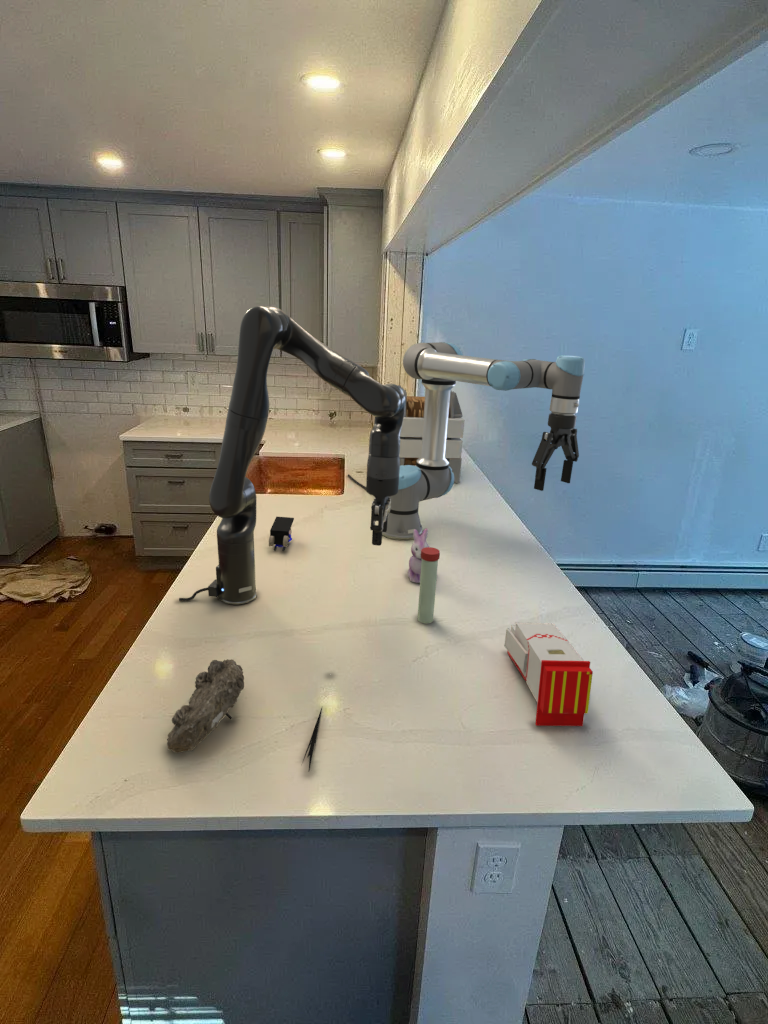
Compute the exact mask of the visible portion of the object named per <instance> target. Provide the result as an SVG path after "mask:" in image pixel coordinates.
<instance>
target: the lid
mask: <svg viewBox="0 0 768 1024" xmlns="http://www.w3.org/2000/svg"><path fill="white" fill-rule="evenodd" d="M440 555H441V552H440V550H439V549H438V548H436V547H433V546H431V547H430V546H429V547H426V548H423V549H422V550H421V558H422V559H423V560H425V561H437V560H438V561H439V560H440Z"/></svg>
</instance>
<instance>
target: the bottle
mask: <svg viewBox="0 0 768 1024" xmlns="http://www.w3.org/2000/svg"><path fill="white" fill-rule="evenodd" d="M438 564H439V559H438V560H437V561H425V560H423V559H422V562H421V576H420V583H419V592H418V606H417V618H416V619H417V621H418V622H419V623H421V624H431V623H432V622H434V613H435V602H436V590H437V589H436V588H437V577H438V568H439V567H438V566H439V565H438Z"/></svg>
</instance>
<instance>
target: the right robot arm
mask: <svg viewBox="0 0 768 1024" xmlns="http://www.w3.org/2000/svg"><path fill="white" fill-rule="evenodd" d="M585 365H586V360H585V358H584V357H582V356H578V355H566V354H565V355H564V354H563V355H558V356H557V357H556V360H555V361H549V360H541V359H536V358H524V359H521V360H506V359H505V360H504V359H503V360H502V359H496V358H487V357H479V356H471V355H464V354H463V352H462V350H461V349H460V347H459V346H457V345H456V344H455V343H451V342H445V341H443V342H442V341H441V342H440V341H439V342H438V341H437V342H417V343H414V344H412V345H411V346H409V347H408V348H407V350H406V351H405V353H404V355H403V358H402V366H403V369H404V372H405V373H406V374H407V375H408V376H409V377H411V378H412V379H415V380H421V385H422V386H423V387H424V389H425V392H424V397H425V404H424V419H423V434H422V449H421V457H420V458H418V459H417V461H416V466H413V465H401V466H400V471H399V487H398V493H397V494H396V495H394V496H391V498H390V499H391V504H390V512H389V516H388V523H387V531H386V532H382V537H385V538H387V539H389V540H395V541H410V540H414V537H413V530H414V529H416V530H417V531H418V533H419V535H421V534H422V532H423V525H422V524H421V518H420V515H419V507H420V506H419V505H420V502H423V501H427V500H431V499H437V498H440V497H443V496H446V495H448V493H450V492H451V490H452V489H453V488H454V487H453V486H454V484H455V483H454V473H452V469H451V467H450V466H449V462H448V461H447V459H446V458H445V453H446V441H447V428H448V416H449V404H450V392H451V391H452V389H453V388H454V387H455V386H456V384H457V382H461V383H465V384H473V385H479V386H487V387H491V388H492V389H494V390H496V391H503V392H504V391H511V390H520V389H532V388H533V389H534V388H539V389H546V390H551V398H550V404H549V413H548V418H547V419H548V420H547V426H548V427H549V428H550V431H549V432H548V431H543V432H542V435H541V440H540V442H539V445H538V447H537V449H536V452H535V454H534V457H533V460H532V461H531V466H533V467H535V475H534V477H535V478H534V485H533V489H534V490H537V491H539V492H543V491H544V489H545V484H546V483H545V482H546V476H547V468H546V466H547V465H548V463H549V461H550V459H551V457H552V456H553V454H554V453H555V451H556V450H557V449H558V448H560V447H561V449H562V452H563V455H564V458H565V459H563V463H562V468H561V469H562V470H561V475H560V482H562V483H566V484H571V478H572V472H573V466H574V463H576V462H578V461H579V457H580V453H579V444H578V428H576V423H577V419H578V416H577V414H578V412H579V411H578V410H579V406H580V397H581V391H582V385H583V380H584V376H585ZM347 477H348V478H349V479H350V480H351V481H353V483H355V484H357V485H358V486H360V487H361V488H363V489H364V490H366V485H364V484H362V483H360V482H359V481H357V480H356V479H354V478H353V477H352V475H350V474H347Z"/></svg>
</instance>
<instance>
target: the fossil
mask: <svg viewBox="0 0 768 1024" xmlns="http://www.w3.org/2000/svg"><path fill="white" fill-rule="evenodd" d="M243 670H244V669H243V667H242V665H240V664H237V662H236V661H235V660H234V659H232V658H231V659H227V658H226V659H224V660H223V661H222V660H217V659H212V660H211V661H210V663H209V665H208V666H207V671H201V672H199V673H198V674H197V675H196V676H195V680H194V684H195V685H194V687H195V689H194V690H193V693H192V694H191V697H190V698H189V700H188V704H184V705H182V706H181V707H180V709H177V710H176V711H175V713H174V715H173V716H172V718H171V723H172V724H173V727H172V730H171V731H170V732H168V734H167V738H166V741H167V742H166V745H167V749H168V750H169V751H173V752H174V753H176V754H178V753H182V752H188V751H189V752H192V751H193V750H195V748H196V747H197V746H199V744H200V743H201V742H203V741H204V740H205V739H206V738H207V737H208V736H209V735H210V734H211V733H212V732H214V730H215V729H217V727H218V726H219V724H220V722H221V721H222V720H223V719H224V718H225V716H226V717H227V719H229V720H233V717H232V715H230V714H229V710H230V709H231V708H234V706H235V704H236V703H237V702H238V699H239V697H240V695H241V693H242V691H243V690H245V689H244V688H245V675H244V671H243Z"/></svg>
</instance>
